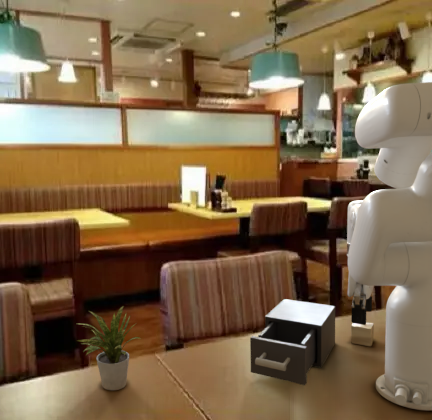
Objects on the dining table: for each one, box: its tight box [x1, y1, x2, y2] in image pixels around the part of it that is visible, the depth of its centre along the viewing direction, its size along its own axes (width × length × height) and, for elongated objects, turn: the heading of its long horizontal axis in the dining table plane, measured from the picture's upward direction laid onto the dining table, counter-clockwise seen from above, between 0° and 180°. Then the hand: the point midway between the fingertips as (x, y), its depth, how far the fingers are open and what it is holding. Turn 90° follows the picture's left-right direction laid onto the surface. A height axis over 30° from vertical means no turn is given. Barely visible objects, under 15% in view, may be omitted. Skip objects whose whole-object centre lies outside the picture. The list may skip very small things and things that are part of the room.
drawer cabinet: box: [264, 298, 336, 369], centre depth 108 cm, size 15×13×10 cm
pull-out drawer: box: [249, 321, 317, 386], centre depth 96 cm, size 18×12×8 cm, turn 146°
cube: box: [350, 321, 375, 347], centre depth 112 cm, size 4×4×4 cm
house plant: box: [76, 305, 142, 391], centre depth 96 cm, size 14×14×16 cm
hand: (361, 316), depth 112 cm, fingers open, 9 cm apart
